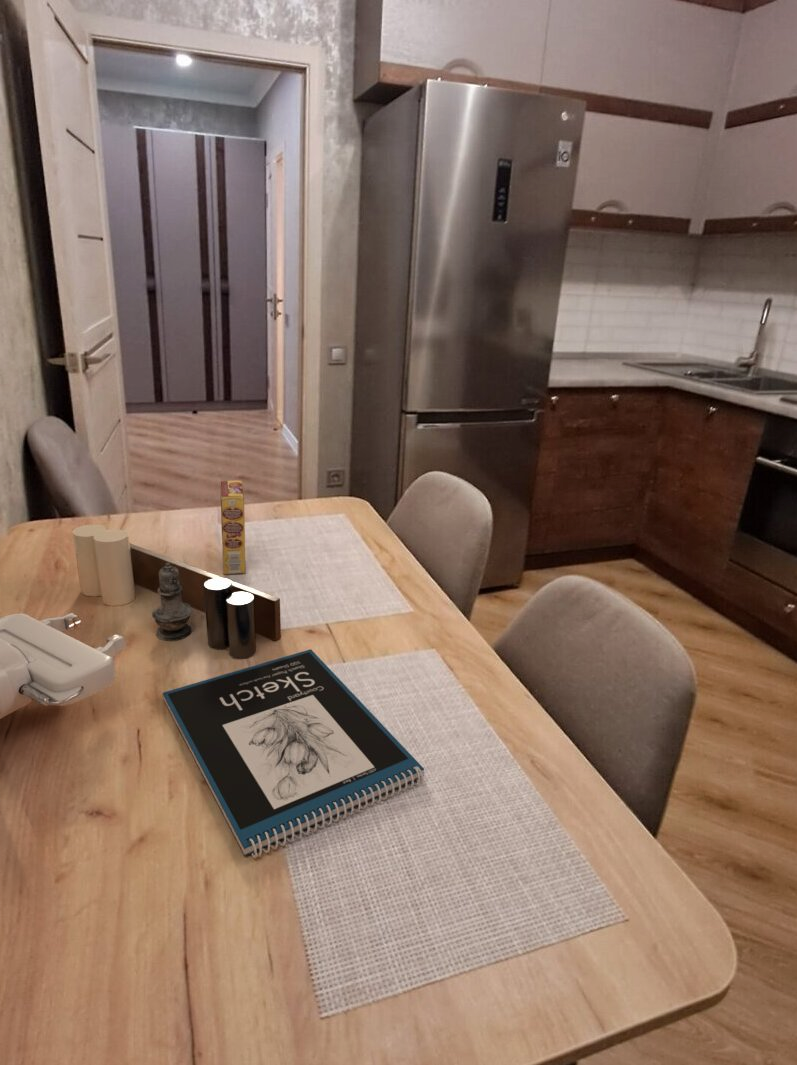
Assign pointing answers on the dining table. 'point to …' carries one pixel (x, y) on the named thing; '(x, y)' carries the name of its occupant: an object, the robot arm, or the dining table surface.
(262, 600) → the brown wooden board
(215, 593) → the dark metal shakers
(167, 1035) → the dining table surface
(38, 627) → the robot arm
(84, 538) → the cream shakers
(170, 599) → the dark grey upright piece
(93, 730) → the dining table surface
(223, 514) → the candy box
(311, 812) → the sketchbook
